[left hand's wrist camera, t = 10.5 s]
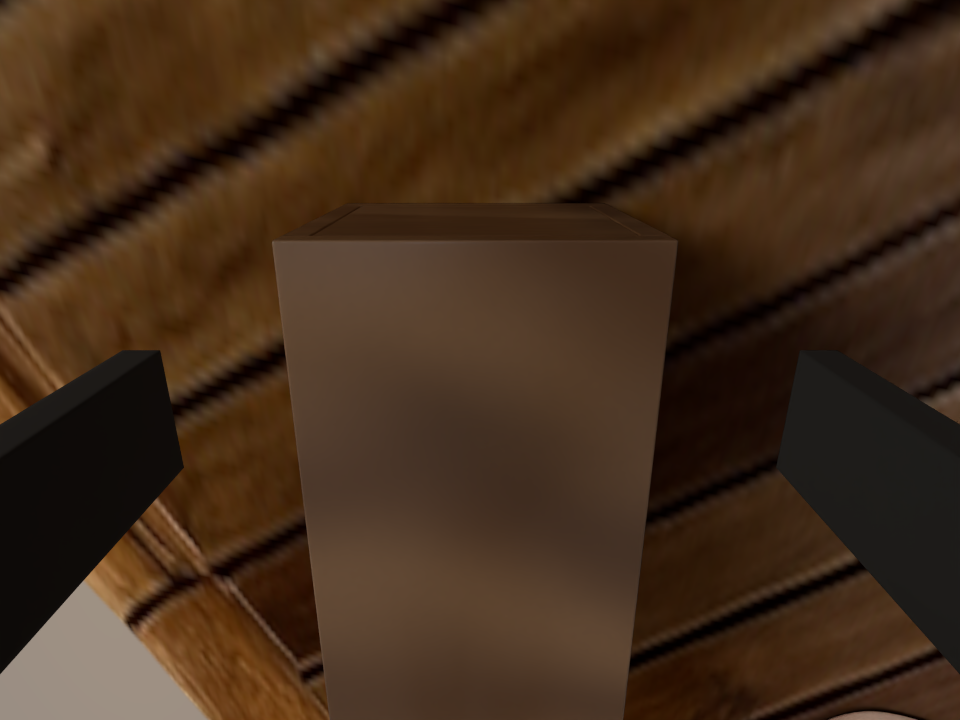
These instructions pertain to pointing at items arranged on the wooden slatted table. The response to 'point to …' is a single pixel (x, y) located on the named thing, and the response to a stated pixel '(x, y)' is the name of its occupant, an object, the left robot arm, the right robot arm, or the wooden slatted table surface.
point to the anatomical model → (870, 716)
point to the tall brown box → (475, 450)
